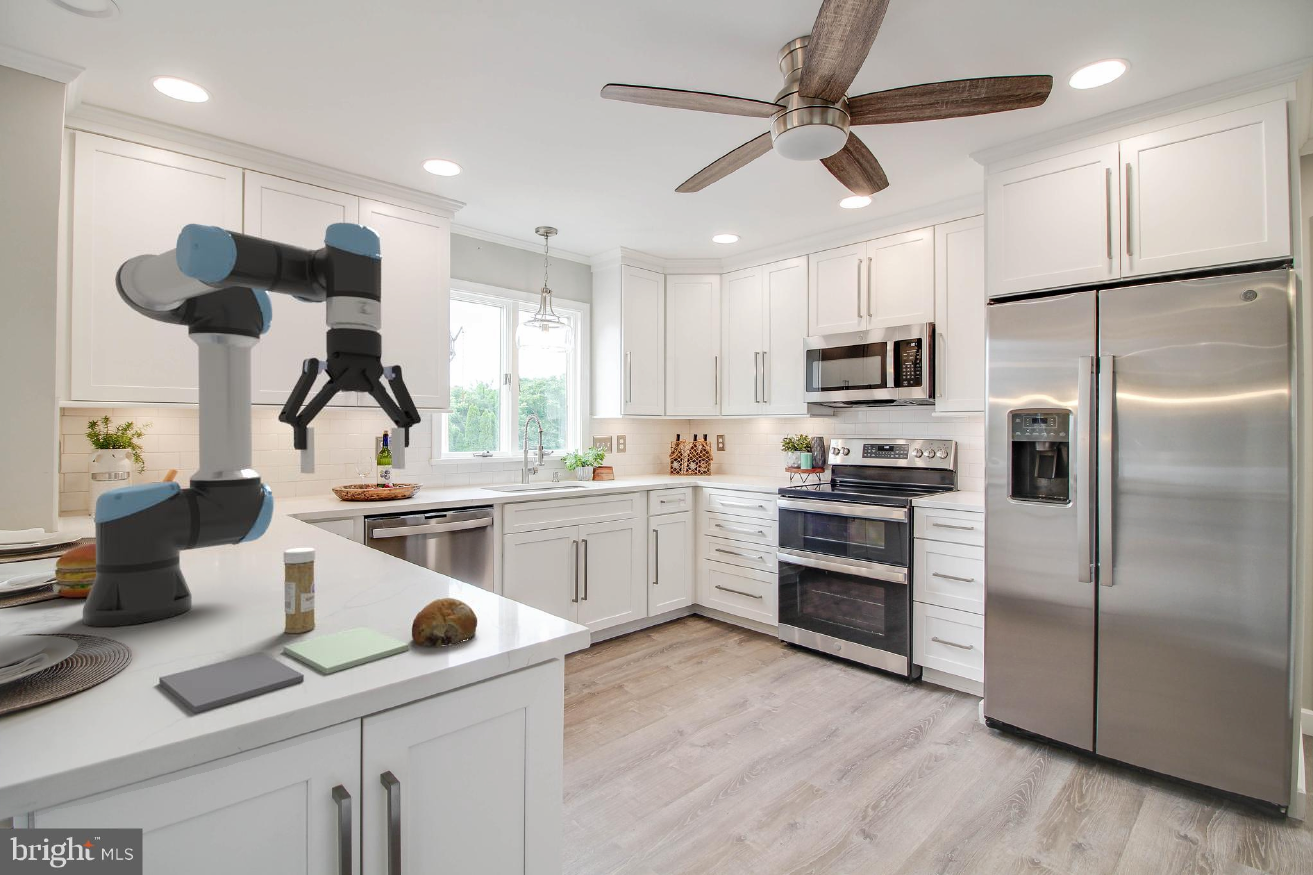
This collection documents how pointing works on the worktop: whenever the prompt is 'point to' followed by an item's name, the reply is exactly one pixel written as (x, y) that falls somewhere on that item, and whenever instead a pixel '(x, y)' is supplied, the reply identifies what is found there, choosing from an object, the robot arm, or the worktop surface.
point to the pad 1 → (229, 681)
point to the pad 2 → (345, 649)
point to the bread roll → (444, 623)
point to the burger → (76, 572)
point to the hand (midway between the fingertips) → (355, 471)
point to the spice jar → (299, 590)
